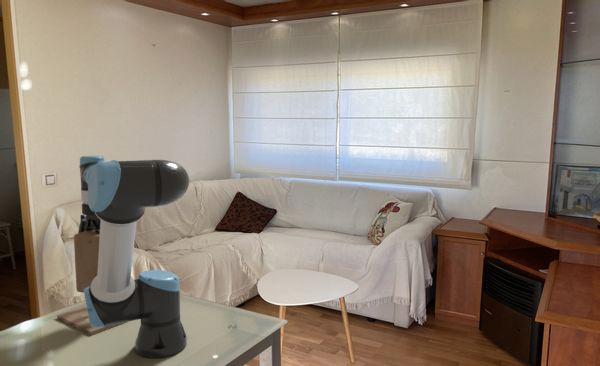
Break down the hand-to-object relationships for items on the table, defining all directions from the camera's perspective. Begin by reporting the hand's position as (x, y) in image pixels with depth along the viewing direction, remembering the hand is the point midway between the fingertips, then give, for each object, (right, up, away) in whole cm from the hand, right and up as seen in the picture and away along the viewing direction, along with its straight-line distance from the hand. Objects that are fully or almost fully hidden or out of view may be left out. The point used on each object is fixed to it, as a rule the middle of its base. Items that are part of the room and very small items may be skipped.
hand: (96, 264), depth 155 cm
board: (-3, -20, +5) cm, 21 cm away
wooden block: (0, -9, +1) cm, 9 cm away
